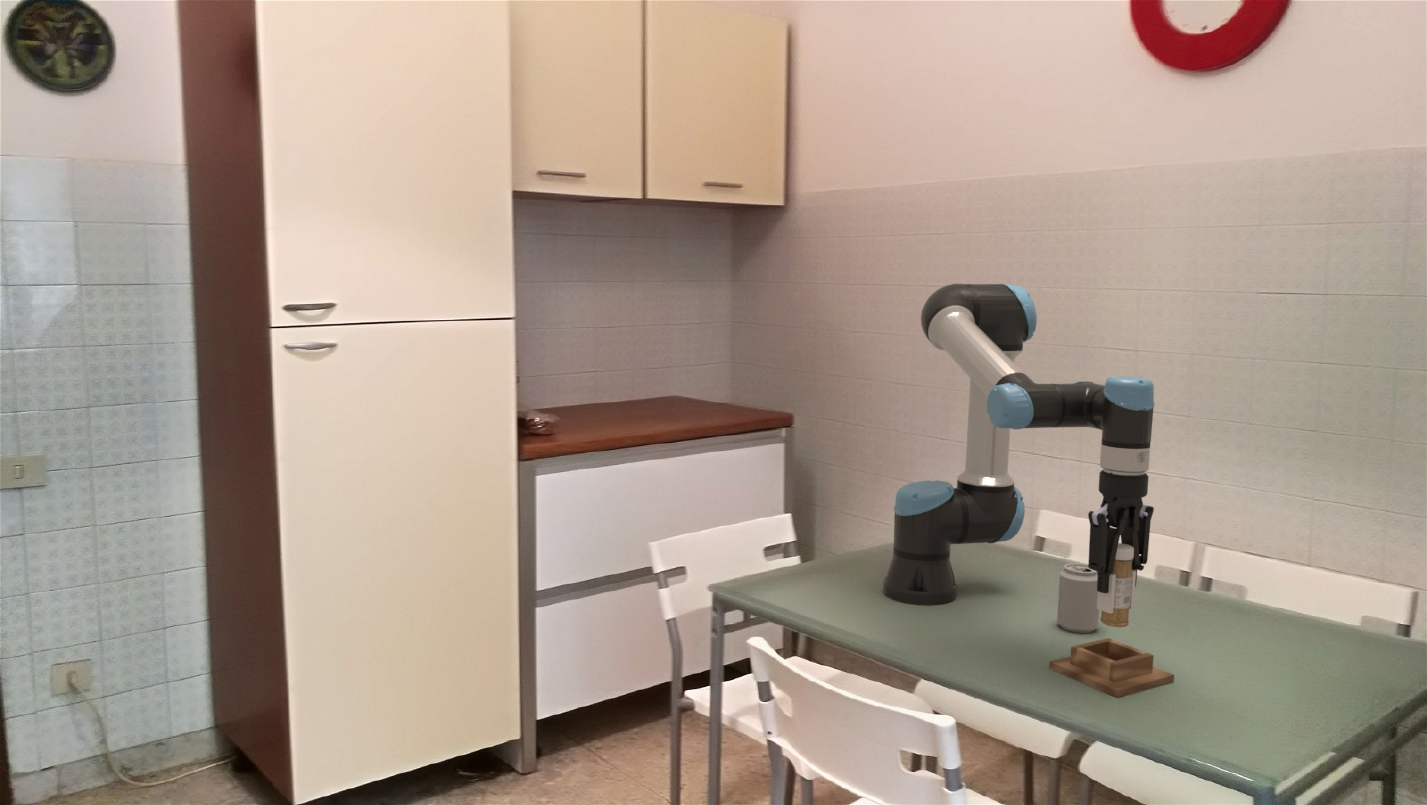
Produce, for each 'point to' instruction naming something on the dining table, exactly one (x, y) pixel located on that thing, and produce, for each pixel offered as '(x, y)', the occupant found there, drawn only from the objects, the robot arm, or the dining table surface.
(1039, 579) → the dining table surface
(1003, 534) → the robot arm
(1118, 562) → the sprinkles bottle
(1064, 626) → the can
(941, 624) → the dining table surface
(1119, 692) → the holder
